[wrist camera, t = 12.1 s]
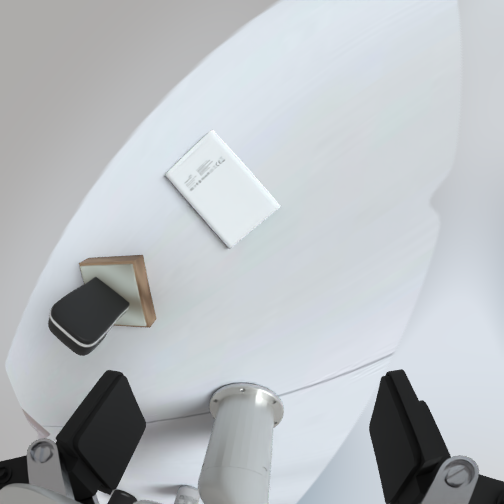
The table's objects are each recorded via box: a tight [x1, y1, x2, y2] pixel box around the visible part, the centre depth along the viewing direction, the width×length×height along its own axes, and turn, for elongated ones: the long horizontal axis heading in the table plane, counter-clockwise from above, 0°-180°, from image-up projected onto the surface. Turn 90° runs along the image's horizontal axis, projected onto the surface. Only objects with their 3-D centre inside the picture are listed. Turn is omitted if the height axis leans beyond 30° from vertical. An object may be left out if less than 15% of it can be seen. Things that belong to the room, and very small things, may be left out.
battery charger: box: [48, 277, 130, 356], centre depth 33 cm, size 7×4×11 cm, turn 55°
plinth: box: [79, 255, 156, 327], centre depth 39 cm, size 10×10×3 cm
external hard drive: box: [165, 130, 280, 248], centre depth 35 cm, size 2×8×12 cm
